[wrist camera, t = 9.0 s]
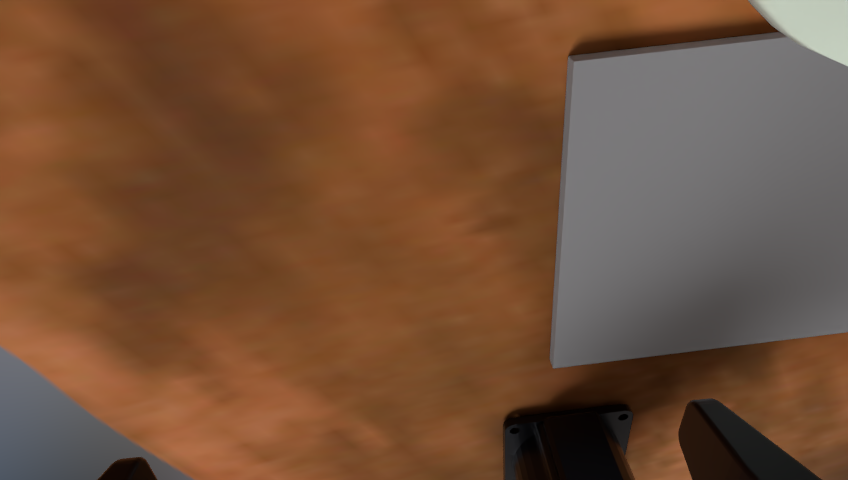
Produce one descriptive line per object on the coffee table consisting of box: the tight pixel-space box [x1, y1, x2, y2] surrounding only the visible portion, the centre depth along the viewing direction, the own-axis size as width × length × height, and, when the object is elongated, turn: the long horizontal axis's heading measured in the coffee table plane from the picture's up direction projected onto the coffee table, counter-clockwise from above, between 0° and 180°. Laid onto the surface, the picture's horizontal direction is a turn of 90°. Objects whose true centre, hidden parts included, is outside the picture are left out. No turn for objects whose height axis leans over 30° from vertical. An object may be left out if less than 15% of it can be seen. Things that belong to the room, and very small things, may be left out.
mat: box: [550, 32, 848, 369], centre depth 22 cm, size 14×14×1 cm
